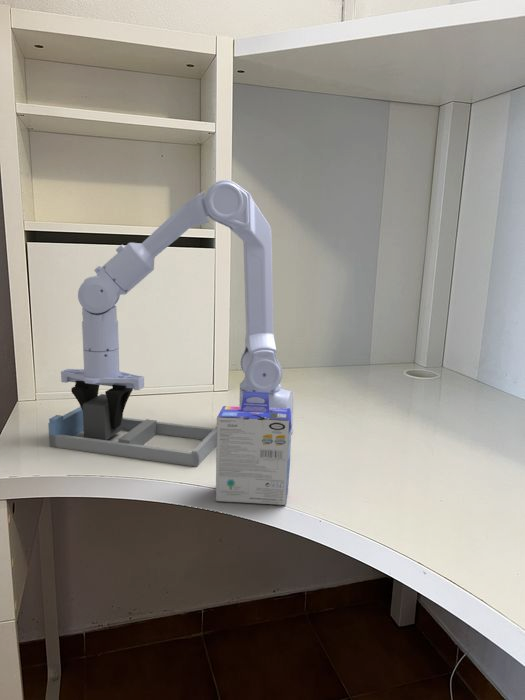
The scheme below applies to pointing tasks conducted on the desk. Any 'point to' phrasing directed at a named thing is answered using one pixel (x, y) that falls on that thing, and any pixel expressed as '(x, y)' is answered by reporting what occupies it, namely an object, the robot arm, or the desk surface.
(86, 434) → the dark grey block
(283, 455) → the ink cartridge box
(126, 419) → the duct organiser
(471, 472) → the desk surface
